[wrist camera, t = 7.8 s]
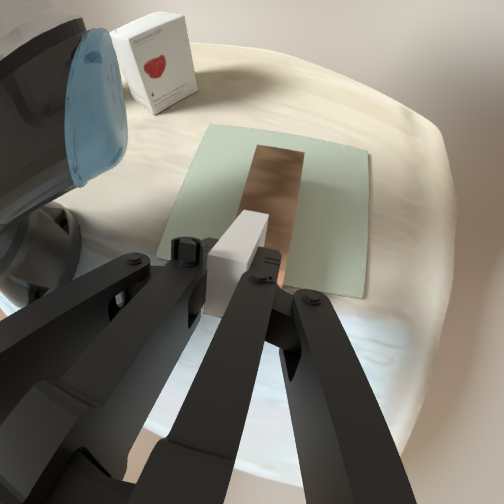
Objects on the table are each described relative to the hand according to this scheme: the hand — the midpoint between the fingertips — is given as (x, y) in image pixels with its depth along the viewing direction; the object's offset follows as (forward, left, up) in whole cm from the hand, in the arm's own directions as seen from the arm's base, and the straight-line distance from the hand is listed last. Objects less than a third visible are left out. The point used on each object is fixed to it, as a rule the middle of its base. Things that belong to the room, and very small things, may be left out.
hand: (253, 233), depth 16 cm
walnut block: (0, -1, -9) cm, 9 cm away
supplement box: (-22, +29, -12) cm, 38 cm away
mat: (0, +11, -12) cm, 16 cm away
